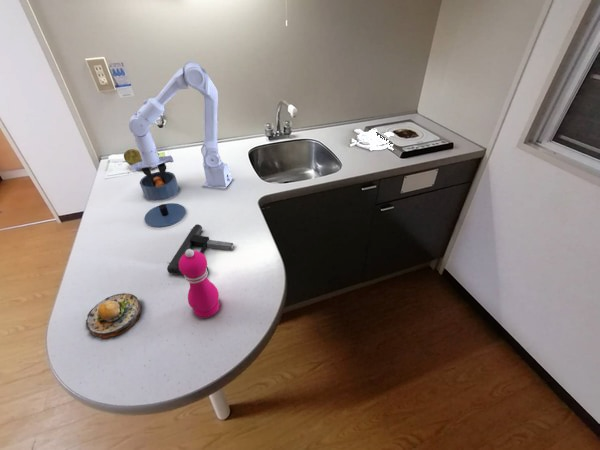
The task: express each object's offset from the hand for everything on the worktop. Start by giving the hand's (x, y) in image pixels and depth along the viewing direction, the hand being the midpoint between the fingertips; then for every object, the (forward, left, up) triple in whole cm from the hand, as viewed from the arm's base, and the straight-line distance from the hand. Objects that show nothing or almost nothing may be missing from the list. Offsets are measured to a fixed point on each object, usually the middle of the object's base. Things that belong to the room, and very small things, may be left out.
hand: (158, 183), depth 117 cm
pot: (0, 0, -4) cm, 4 cm away
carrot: (0, 0, -1) cm, 1 cm away
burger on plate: (-20, +54, -5) cm, 58 cm away
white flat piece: (-80, -68, -4) cm, 105 cm away
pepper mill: (-41, +47, -5) cm, 63 cm away
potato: (+20, -17, -5) cm, 27 cm away
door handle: (-32, +29, -5) cm, 43 cm away
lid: (-10, +14, -4) cm, 18 cm away
